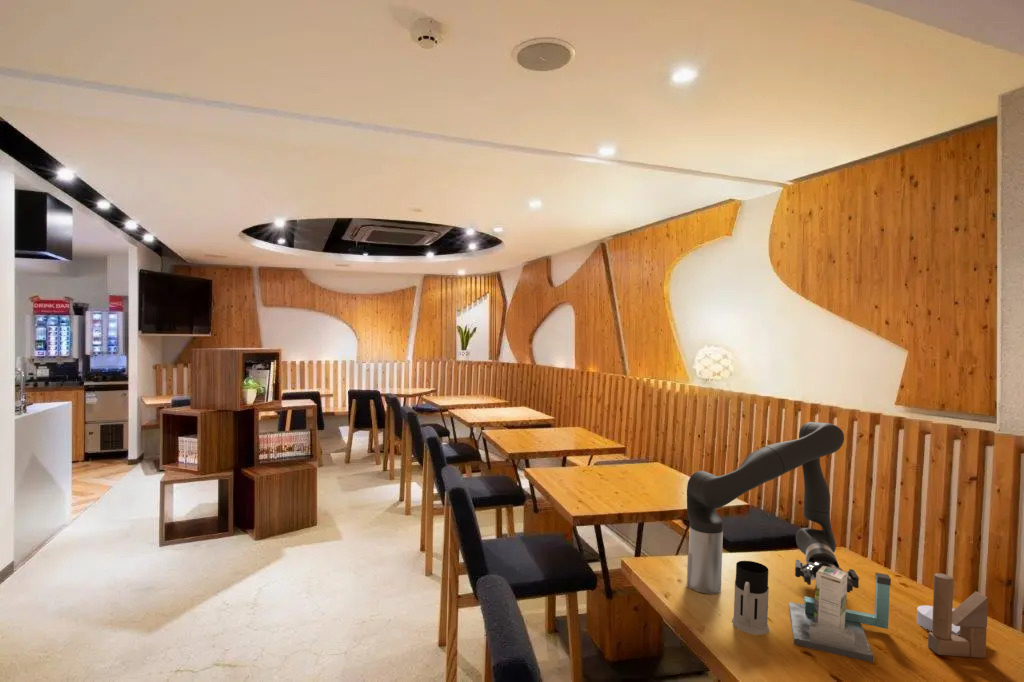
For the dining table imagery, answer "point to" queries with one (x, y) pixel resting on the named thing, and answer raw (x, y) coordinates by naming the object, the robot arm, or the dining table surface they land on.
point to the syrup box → (830, 597)
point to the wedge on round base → (927, 616)
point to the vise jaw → (875, 619)
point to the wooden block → (957, 621)
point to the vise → (829, 635)
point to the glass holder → (751, 598)
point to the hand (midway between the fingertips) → (828, 584)
